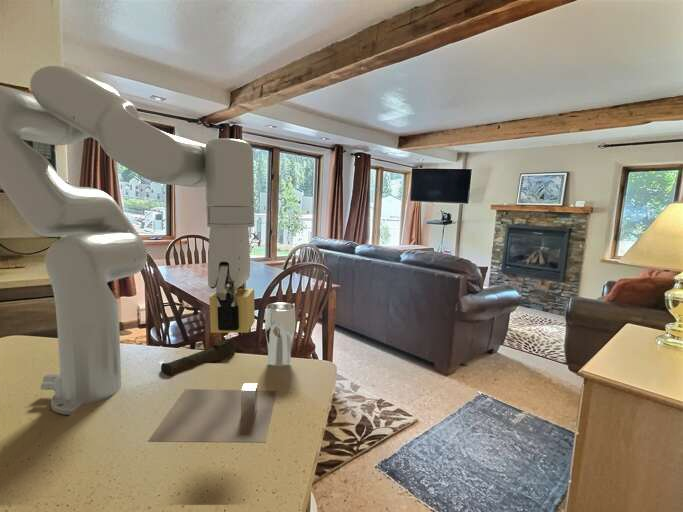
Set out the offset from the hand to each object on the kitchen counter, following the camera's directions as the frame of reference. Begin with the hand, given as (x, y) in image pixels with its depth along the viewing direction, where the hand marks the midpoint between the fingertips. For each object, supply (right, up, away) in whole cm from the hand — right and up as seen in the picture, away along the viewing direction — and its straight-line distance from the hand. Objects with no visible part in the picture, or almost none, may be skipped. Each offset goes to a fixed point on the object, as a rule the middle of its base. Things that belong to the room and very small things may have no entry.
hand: (233, 322), depth 63 cm
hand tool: (-15, -15, +24) cm, 32 cm away
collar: (0, -1, 0) cm, 1 cm away
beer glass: (+4, -15, +25) cm, 30 cm away
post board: (-3, -18, +3) cm, 18 cm away
